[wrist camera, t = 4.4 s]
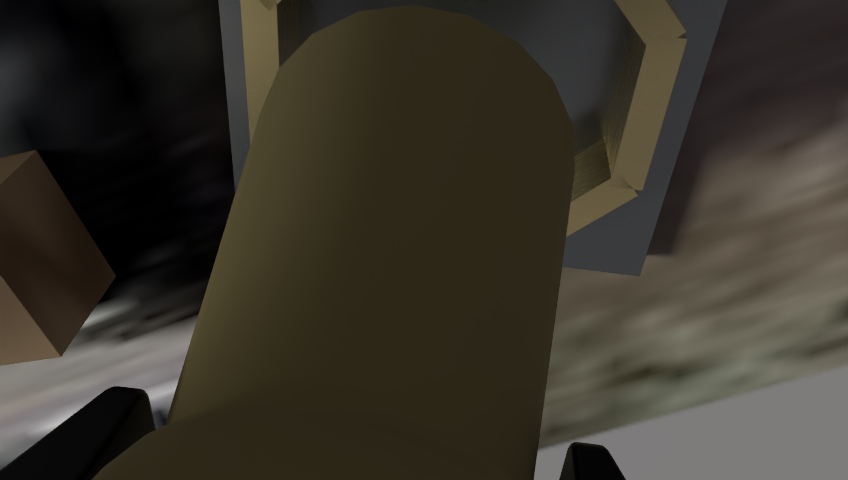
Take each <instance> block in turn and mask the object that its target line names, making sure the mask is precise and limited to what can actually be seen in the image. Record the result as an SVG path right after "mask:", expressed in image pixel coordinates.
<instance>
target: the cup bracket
mask: <svg viewBox="0 0 848 480" xmlns="http://www.w3.org/2000/svg"><path fill="white" fill-rule="evenodd" d="M727 1H728V0H219V11H220V23H221V34H222V46H223V57H224V69H225V80H226V92H227V103H228V115H229V126H230V138H231V149H232V161H233V172H234V184H235V194H236V191H237V188H238V184H239V181H240V178H241V174H242V171H243V168H244V165H245V161H246V158H247V155H248V151H249V148H250V145H251V142H252V138H253V135H254V132H255V128H256V125H257V122H258V119H259V115H260V112H261V109H262V107H263V105H264V102H265V100H266V97H267V95H268V93H269V90H270V88H271V86H272V83H273V81H274V78H275V76H276V74H277V71H278V69H279V68H280V67H281V66H282V65H283V64H284V63H285V62H286V61H287V60H288V59H289V57H290V56H291V55H292V54H293V53H294V52H295V51H296V50H297V49H298V48H299V47H300V46H301V45H302V44H303V43H304V42H305V41H306V40H307V39H308V38H309V37H310V36H311V35H312V34H313V33H315V32H317V31H320V30H322V29H324V28H326V27H328V26H330V25H332V24H334V23H336V22H338V21H340V20H342V19H344V18H346V17H348V16H350V15H353V14H355V13H357V12H359V11H366V10H375V9H383V8H391V7H399V6H407V5H418V6H423V7H428V8H433V9H439V10H444V11H449V12H454V13H459V14H464V15H469V16H471V17H473V18H475V19H477V20H478V21H480V22H482V23H484V24H486V25H488V26H489V27H491V28H493V29H495V30H497V31H499V32H500V33H502V34H504V35H506V36H508V37H509V38H511V39H513V40H515V41H517V42H518V43H519V44H520V45H521V46H522V47H523V48H524V49H525V50H526V51H527V52H528V53H529V55H530V56H531V57H532V58H533V59H534V60H535V61H536V62H537V63H538V64H539V65H540V66H541V68H542V69H543V70H544V71H545V72H546V73H547V74H548V75H549V76H550V77H551V78H552V79H553V80H554V83H555V85H556V87H557V90H558V92H559V94H560V97H561V99H562V101H563V104H564V106H565V108H566V110H567V113H568V115H569V117H570V120H571V122H572V124H573V139H574V161H575V174H574V181H573V189H572V196H571V204H570V211H569V219H568V226H567V234H566V241H565V249H564V256H563V264H562V267H569V268H577V269H585V270H593V271H601V272H609V273H618V274H626V275H634V276H640V273H641V270H642V267H643V264H644V261H645V258H646V254H647V251H648V248H649V245H650V242H651V239H652V236H653V233H654V229H655V226H656V223H657V220H658V217H659V214H660V211H661V207H662V204H663V201H664V198H665V195H666V192H667V189H668V186H669V182H670V179H671V176H672V173H673V170H674V167H675V164H676V161H677V157H678V154H679V151H680V148H681V145H682V142H683V139H684V135H685V132H686V129H687V126H688V123H689V120H690V117H691V114H692V110H693V107H694V104H695V101H696V98H697V95H698V92H699V89H700V85H701V82H702V79H703V76H704V73H705V70H706V67H707V63H708V60H709V57H710V54H711V51H712V48H713V45H714V42H715V38H716V35H717V32H718V29H719V26H720V23H721V20H722V16H723V13H724V10H725V7H726V4H727Z"/></svg>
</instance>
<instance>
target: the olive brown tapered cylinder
mask: <svg viewBox="0 0 848 480" xmlns="http://www.w3.org/2000/svg"><path fill="white" fill-rule="evenodd" d="M574 174H575V161H574V139H573V124H572V122H571V120H570V117H569V115H568V113H567V110H566V108H565V106H564V104H563V101H562V99H561V97H560V94H559V92H558V90H557V87H556V85H555V83H554V80H553V79H552V78H551V77H550V76H549V75H548V74H547V73H546V72H545V71H544V70H543V69H542V68H541V66H540V65H539V64H538V63H537V62H536V61H535V60H534V59H533V58H532V57H531V56H530V55H529V53H528V52H527V51H526V50H525V49H524V48H523V47H522V46H521V45H520V44H519V43H518V42H517V41H515V40H513V39H511V38H509V37H508V36H506V35H504V34H502V33H500V32H499V31H497V30H495V29H493V28H491V27H489V26H488V25H486V24H484V23H482V22H480V21H478V20H477V19H475V18H473V17H471V16H469V15H464V14H459V13H454V12H449V11H444V10H439V9H433V8H428V7H423V6H418V5H407V6H399V7H391V8H383V9H375V10H366V11H359V12H357V13H355V14H353V15H350V16H348V17H346V18H344V19H342V20H340V21H338V22H336V23H334V24H332V25H330V26H328V27H326V28H324V29H322V30H320V31H317V32H315V33H313V34H312V35H311V36H310V37H309V38H308V39H307V40H306V41H305V42H304V43H303V44H302V45H301V46H300V47H299V48H298V49H297V50H296V51H295V52H294V53H293V54H292V55H291V56H290V57H289V59H288V60H287V61H286V62H285V63H284V64H283V65H282V66H281V67H280V68H279V69H278V71H277V74H276V76H275V78H274V81H273V83H272V86H271V88H270V90H269V93H268V95H267V97H266V100H265V102H264V105H263V107H262V109H261V112H260V115H259V119H258V122H257V125H256V128H255V132H254V135H253V138H252V142H251V145H250V148H249V151H248V155H247V158H246V161H245V165H244V168H243V171H242V174H241V178H240V181H239V184H238V188H237V191H236V194H235V197H234V201H233V204H232V207H231V211H230V214H229V217H228V220H227V224H226V227H225V230H224V234H223V237H222V240H221V243H220V247H219V250H218V253H217V257H216V260H215V263H214V266H213V270H212V273H211V276H210V280H209V283H208V286H207V289H206V293H205V296H204V299H203V303H202V306H201V309H200V312H199V316H198V319H197V322H196V326H195V329H194V332H193V335H192V339H191V342H190V345H189V349H188V352H187V355H186V358H185V362H184V365H183V368H182V372H181V375H180V378H179V381H178V385H177V388H176V391H175V395H174V398H173V401H172V404H171V408H170V411H169V414H168V418H167V421H166V424H165V426H163V427H161V428H159V429H157V430H155V431H152V432H150V433H148V434H146V435H145V436H144V437H142V438H141V439H140V440H138V441H137V442H136V443H134V444H133V445H132V446H131V447H129V448H128V449H127V450H125V451H124V452H123V453H121V454H120V455H119V456H118V457H116V458H115V459H114V460H112V461H111V462H110V463H108V464H107V465H106V466H104V467H103V468H102V469H101V470H100V471H99V472H98V473H97V474H96V476H95V477H94V478H93V479H92V480H534V472H535V465H536V457H537V450H538V443H539V435H540V428H541V420H542V413H543V405H544V398H545V390H546V383H547V375H548V368H549V361H550V353H551V346H552V338H553V331H554V323H555V316H556V308H557V301H558V293H559V286H560V278H561V271H562V264H563V256H564V249H565V241H566V234H567V226H568V219H569V211H570V204H571V196H572V189H573V181H574Z"/></svg>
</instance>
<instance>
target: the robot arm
mask: <svg viewBox="0 0 848 480" xmlns="http://www.w3.org/2000/svg"><path fill="white" fill-rule="evenodd" d="M155 430H156V428H155V423H154V419H153V414H152V410H151V405H150V401H149V397H148V394H147V393H146V392H145V391H144V390H141V389H136V388H128V387H119V386H116V387H111V388H109V389H107V390H105V391H104V392H102V393H101V394H100V395H98V396H97V397H96V398H95V399H93V400H92V401H91V402H89V403H88V404H87V405H85V406H84V407H83V408H81V409H80V410H79V411H78V412H76V413H75V414H74V415H72V416H71V417H70V418H68V419H67V420H66V421H64V422H63V423H62V424H61V425H59V426H58V427H57V428H55V429H54V430H53V431H51V432H50V433H49V434H47V435H46V436H45V437H43V438H42V439H41V440H40V441H38V442H37V443H36V444H34V445H33V446H32V447H30V448H29V449H28V450H26V451H25V452H24V453H23V454H21V455H20V456H19V457H17V458H16V459H15V460H13V461H12V462H11V463H9V464H8V465H7V466H6V467H4V468H3V469H2V470H0V480H92V479H93V478H94V477H95V476H96V474H97V473H98V472H99V471H100V470H101V469H102V468H103V467H104V466H106V465H107V464H108V463H110V462H111V461H112V460H114V459H115V458H116V457H118V456H119V455H120V454H121V453H123V452H124V451H125V450H127V449H128V448H129V447H131V446H132V445H133V444H134V443H136V442H137V441H138V440H140V439H141V438H142V437H144V436H145V435H146V434H148V433H150V432H152V431H155ZM559 480H626V479H625V478H624V476H623V474H622V472H621V471H620V469H619V467H618V466H617V464H616V462H615V461H614V459H613V458H612V456H611V454H610V453H609V451H608V450H607V449H606V448H605V447H604V446H601V445H596V444H588V443H580V442H574V443H572V444H571V445H570V446H569V448H568V450H567V454H566V458H565V461H564V465H563V468H562V472H561V476H560V479H559Z"/></svg>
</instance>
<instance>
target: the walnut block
mask: <svg viewBox="0 0 848 480" xmlns="http://www.w3.org/2000/svg"><path fill="white" fill-rule="evenodd" d="M115 277H116V275H115V274H114V272H113V271H112V269H111V267H110V266H109V264H108V263H107V261H106V260H105V258H104V256H103V255H102V253H101V252H100V250H99V248H98V247H97V245H96V244H95V242H94V241H93V239H92V237H91V236H90V234H89V233H88V231H87V229H86V228H85V226H84V225H83V223H82V222H81V220H80V218H79V217H78V215H77V214H76V212H75V210H74V209H73V207H72V206H71V204H70V203H69V201H68V199H67V198H66V196H65V195H64V193H63V191H62V190H61V188H60V187H59V185H58V184H57V182H56V180H55V179H54V177H53V176H52V174H51V172H50V171H49V169H48V168H47V166H46V165H45V163H44V161H43V160H42V158H41V157H40V155H39V154H38V152H37V150H35V151H30V152H25V153H21V154H16V155H12V156H7V157H3V158H0V365H7V364H14V363H21V362H28V361H35V360H42V359H49V358H56V357H61V356H62V355H63V353H64V352H65V350H66V349H67V347H68V346H69V344H70V343H71V341H72V340H73V339H74V337H75V336H76V334H77V333H78V331H79V330H80V328H81V327H82V325H83V324H84V322H85V321H86V320H87V318H88V317H89V315H90V314H91V312H92V311H93V309H94V308H95V306H96V305H97V303H98V302H99V301H100V299H101V298H102V296H103V295H104V293H105V292H106V290H107V289H108V287H109V286H110V284H111V283H112V282H113V280H114V279H115Z"/></svg>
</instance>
